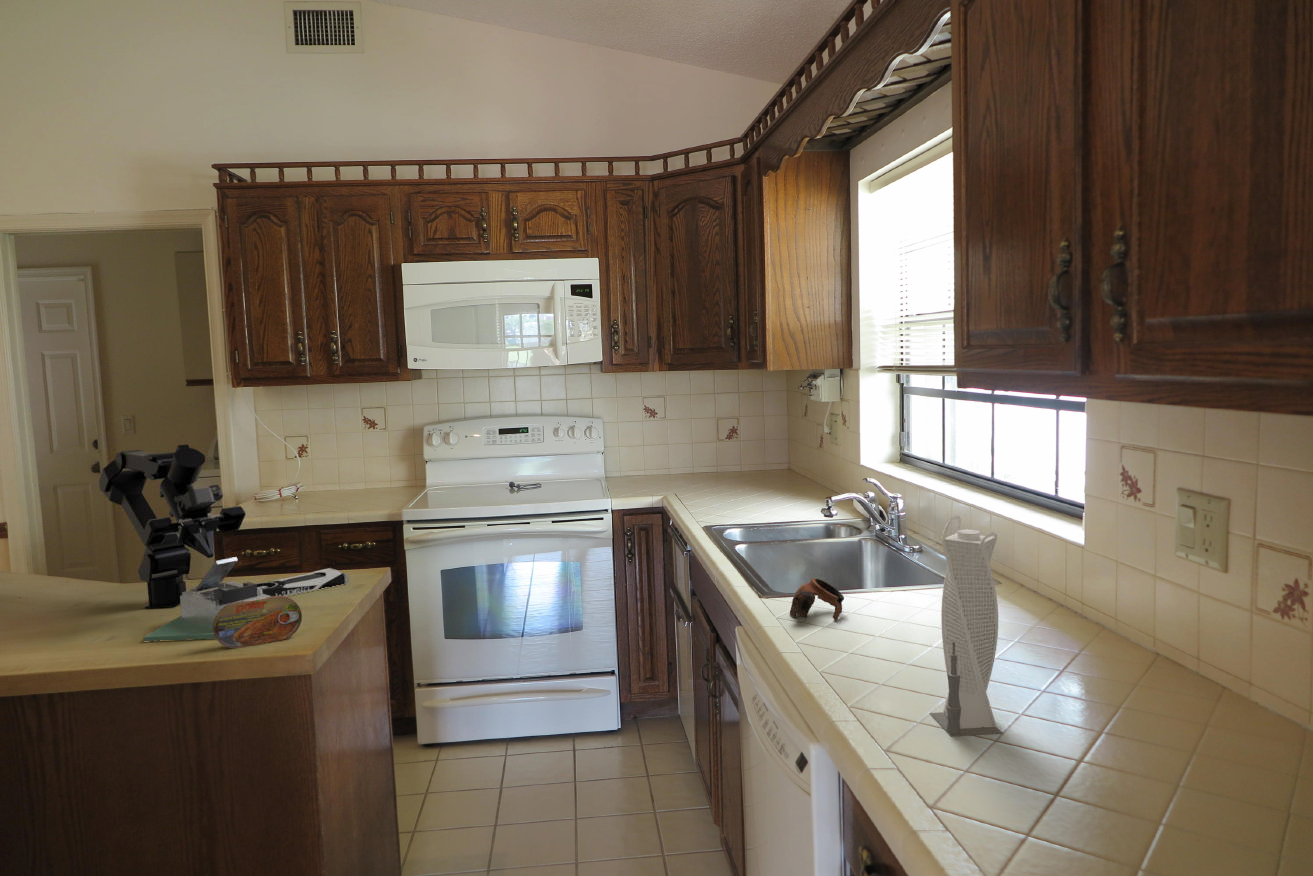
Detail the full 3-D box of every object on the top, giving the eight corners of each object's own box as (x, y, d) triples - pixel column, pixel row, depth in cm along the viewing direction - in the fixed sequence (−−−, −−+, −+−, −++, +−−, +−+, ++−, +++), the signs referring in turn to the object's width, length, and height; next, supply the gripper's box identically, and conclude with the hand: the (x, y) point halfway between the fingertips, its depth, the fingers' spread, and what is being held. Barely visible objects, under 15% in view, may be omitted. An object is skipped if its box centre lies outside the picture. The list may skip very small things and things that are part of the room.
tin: (214, 652, 150) (210, 607, 149) (214, 647, 153) (211, 603, 152) (303, 637, 157) (300, 594, 156) (302, 632, 160) (299, 590, 159)
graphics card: (348, 572, 196) (236, 594, 178) (349, 586, 196) (237, 609, 179) (331, 565, 203) (221, 587, 186) (332, 579, 203) (223, 601, 186)
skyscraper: (925, 711, 115) (924, 515, 113) (982, 708, 116) (982, 513, 113) (950, 738, 107) (950, 527, 104) (1010, 735, 107) (1012, 524, 105)
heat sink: (182, 619, 167) (178, 583, 167) (231, 607, 175) (228, 573, 174) (216, 632, 158) (213, 594, 157) (267, 618, 166) (264, 582, 165)
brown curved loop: (798, 608, 166) (819, 574, 165) (835, 637, 161) (856, 602, 159) (770, 608, 157) (792, 572, 155) (808, 638, 151) (830, 601, 150)
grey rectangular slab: (196, 592, 169) (195, 588, 169) (216, 588, 172) (215, 583, 172) (217, 564, 162) (215, 560, 162) (237, 560, 165) (236, 556, 165)
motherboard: (143, 642, 157) (143, 637, 157) (197, 611, 177) (196, 606, 176) (250, 637, 158) (250, 632, 158) (291, 607, 178) (291, 602, 177)
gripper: (143, 480, 162) (172, 540, 156) (238, 468, 177) (267, 523, 171) (130, 515, 168) (158, 575, 162) (223, 501, 182) (252, 556, 177)
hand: (211, 556), depth 168 cm, fingers closed
